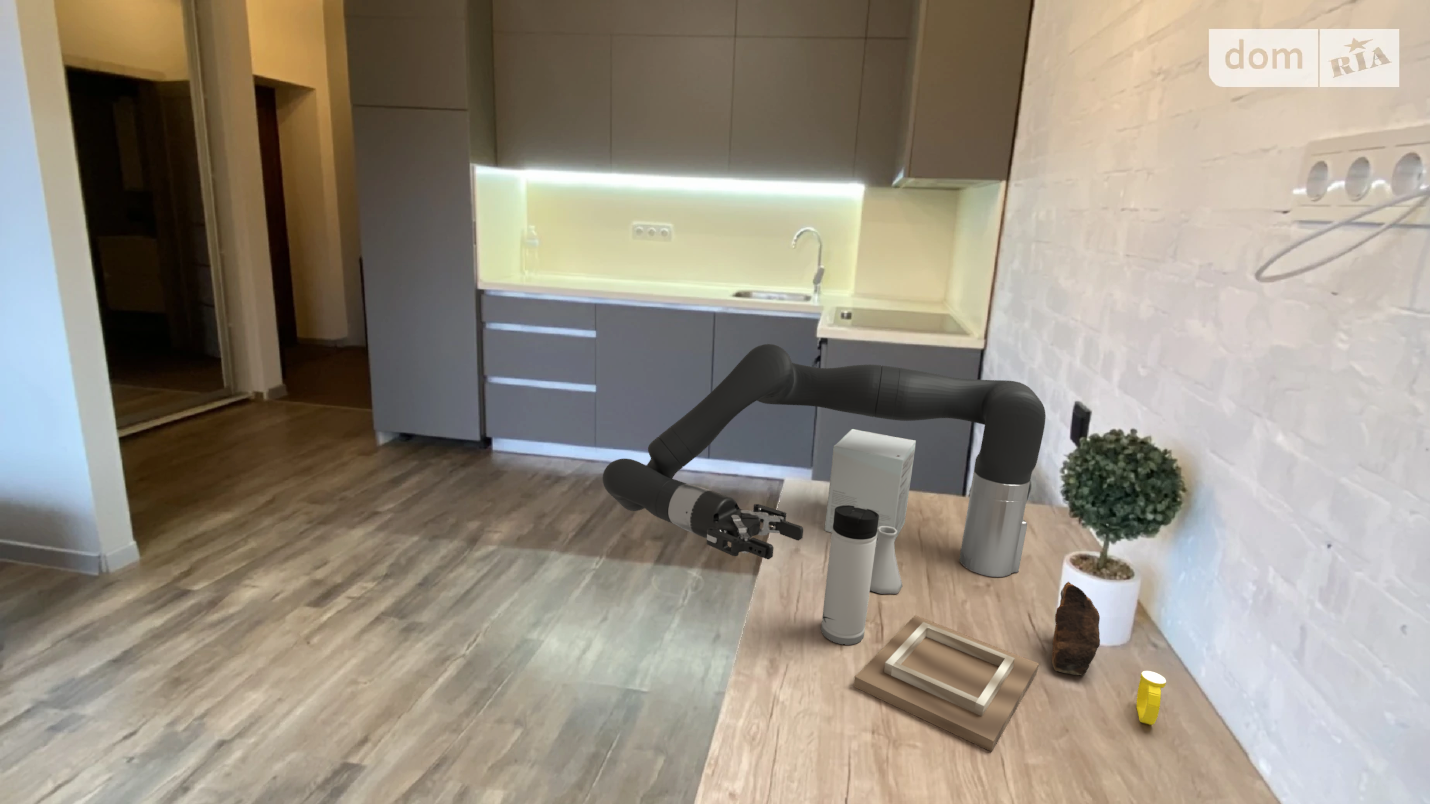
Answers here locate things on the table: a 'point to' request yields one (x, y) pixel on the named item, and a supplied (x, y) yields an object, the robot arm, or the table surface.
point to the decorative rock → (1075, 632)
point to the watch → (1149, 696)
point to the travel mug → (849, 574)
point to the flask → (885, 563)
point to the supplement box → (871, 476)
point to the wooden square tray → (949, 680)
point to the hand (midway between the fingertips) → (787, 543)
